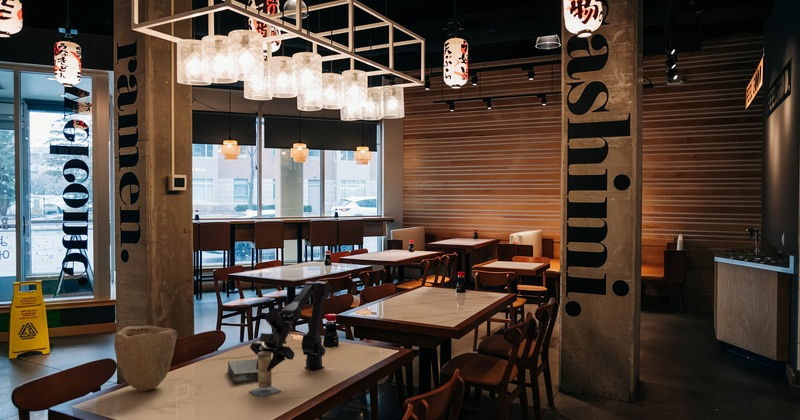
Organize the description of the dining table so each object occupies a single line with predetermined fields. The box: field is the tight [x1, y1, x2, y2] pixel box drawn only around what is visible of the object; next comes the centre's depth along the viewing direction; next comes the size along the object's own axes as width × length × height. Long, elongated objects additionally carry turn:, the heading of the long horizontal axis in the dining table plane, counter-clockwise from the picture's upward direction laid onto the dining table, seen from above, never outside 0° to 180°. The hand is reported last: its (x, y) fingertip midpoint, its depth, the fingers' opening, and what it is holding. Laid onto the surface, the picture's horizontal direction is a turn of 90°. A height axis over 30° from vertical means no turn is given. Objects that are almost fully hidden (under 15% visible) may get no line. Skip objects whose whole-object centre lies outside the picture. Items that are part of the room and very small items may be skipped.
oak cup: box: [257, 351, 273, 388], centre depth 211 cm, size 5×5×13 cm
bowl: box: [113, 325, 178, 392], centre depth 215 cm, size 22×22×25 cm
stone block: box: [227, 358, 258, 385], centre depth 232 cm, size 14×20×5 cm
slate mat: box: [248, 386, 282, 399], centre depth 211 cm, size 9×9×1 cm
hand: (262, 370), depth 209 cm, fingers closed on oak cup, 5 cm apart
